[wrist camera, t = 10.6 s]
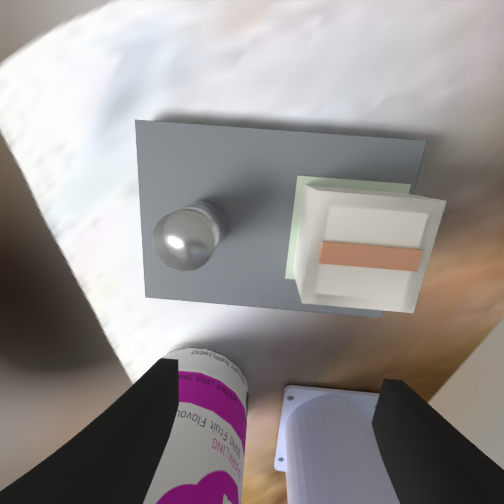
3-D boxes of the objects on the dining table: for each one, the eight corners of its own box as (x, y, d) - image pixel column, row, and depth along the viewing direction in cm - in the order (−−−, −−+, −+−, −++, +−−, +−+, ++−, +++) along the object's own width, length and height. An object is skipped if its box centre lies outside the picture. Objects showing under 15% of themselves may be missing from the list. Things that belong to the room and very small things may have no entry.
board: (372, 306, 19) (381, 318, 17) (154, 287, 19) (144, 298, 18) (411, 143, 16) (427, 140, 14) (146, 124, 16) (134, 119, 14)
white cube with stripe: (293, 271, 17) (302, 305, 13) (304, 184, 15) (319, 190, 11) (378, 279, 17) (415, 315, 12) (399, 192, 15) (450, 201, 11)
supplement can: (219, 327, 20) (107, 718, 6) (265, 403, 22) (265, 830, 8) (132, 362, 21) (-130, 746, 7) (183, 431, 24) (58, 834, 9)
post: (226, 246, 16) (213, 273, 12) (182, 242, 17) (153, 268, 12) (228, 201, 16) (214, 213, 11) (182, 198, 16) (150, 208, 11)
